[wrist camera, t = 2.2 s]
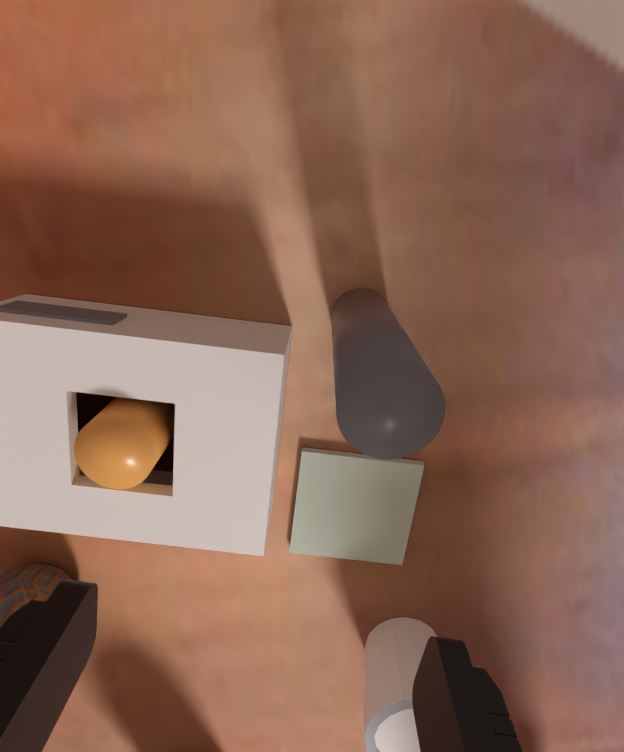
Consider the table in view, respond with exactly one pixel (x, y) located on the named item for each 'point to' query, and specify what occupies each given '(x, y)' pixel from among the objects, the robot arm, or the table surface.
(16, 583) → the vase
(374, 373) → the rod
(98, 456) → the button
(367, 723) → the white cylindrical tub
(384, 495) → the pad
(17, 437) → the box
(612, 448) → the table surface
